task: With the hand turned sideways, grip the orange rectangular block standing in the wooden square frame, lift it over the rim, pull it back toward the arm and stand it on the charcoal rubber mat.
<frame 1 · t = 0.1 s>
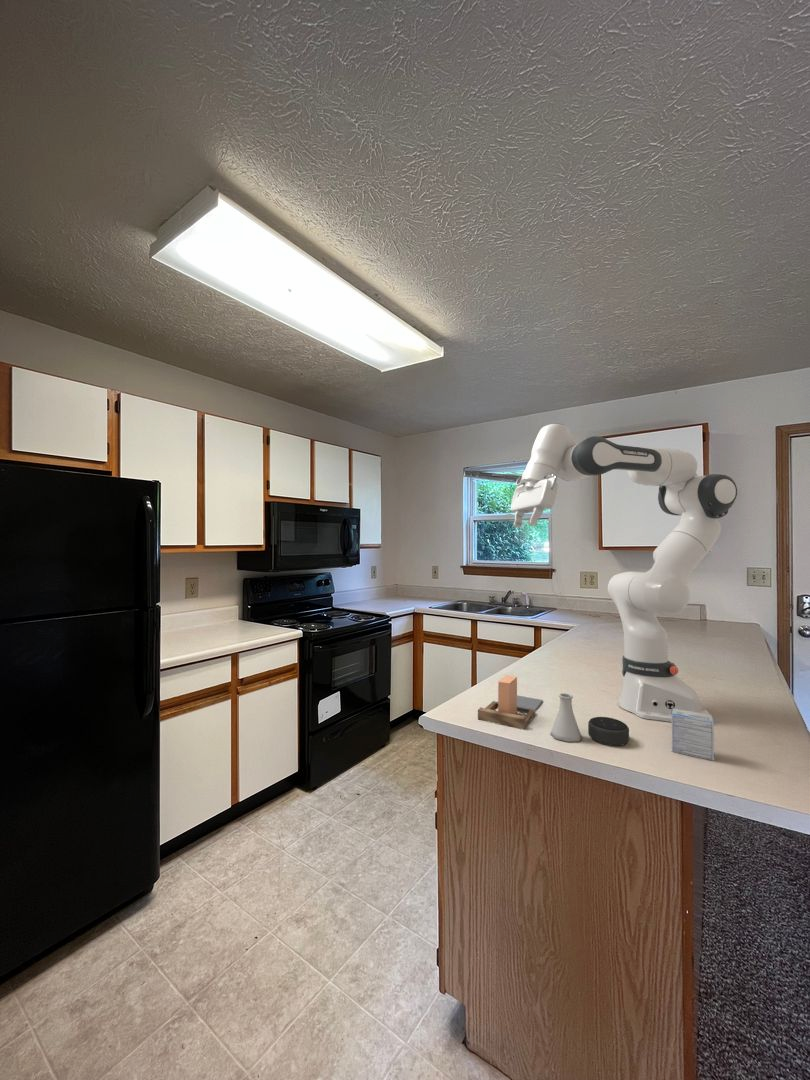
hand: (524, 525, 120), 52 cm above the worktop, tool tilted 20°, fingers open, 8 cm apart
mat: (520, 702, 129), on the worktop
wooden square frame: (507, 715, 118), on the worktop
orange rectangular block: (507, 716, 118), resting in wooden square frame
flask: (565, 737, 106), on the worktop
medicine box: (692, 754, 98), on the worktop
smart speaker: (608, 740, 105), on the worktop
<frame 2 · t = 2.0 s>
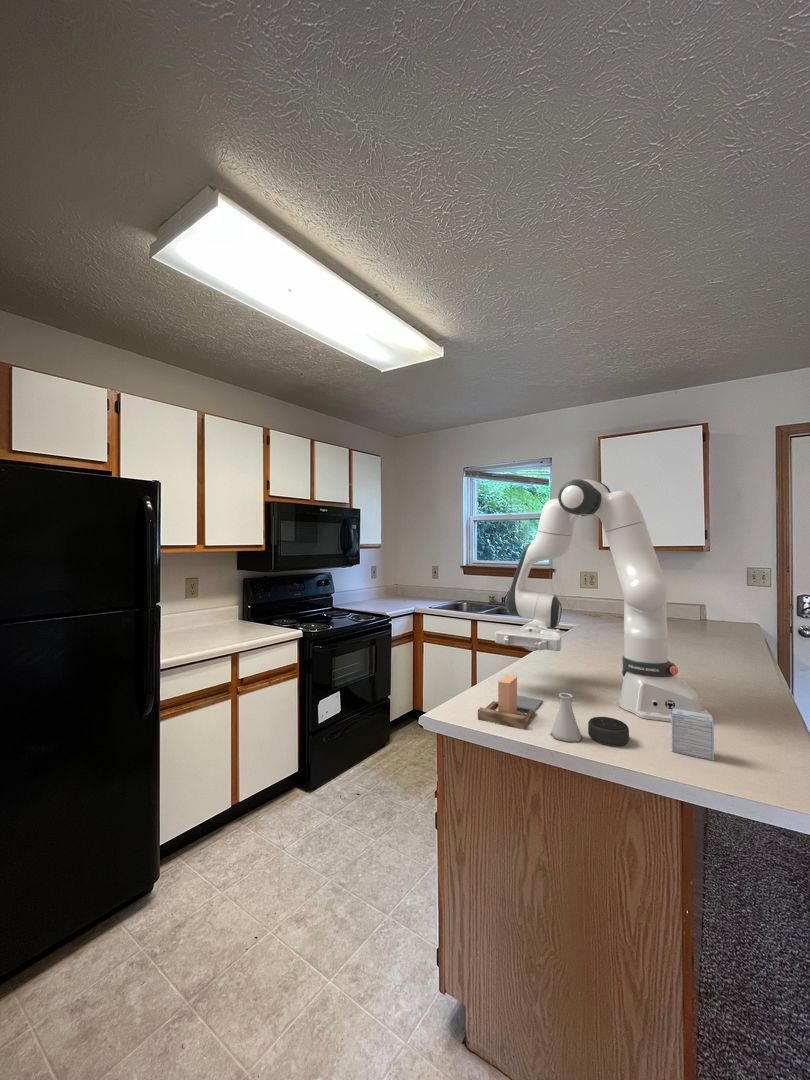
hand: (521, 644, 130), 17 cm above the worktop, tool horizontal, fingers open, 8 cm apart
nothing on the worktop moved.
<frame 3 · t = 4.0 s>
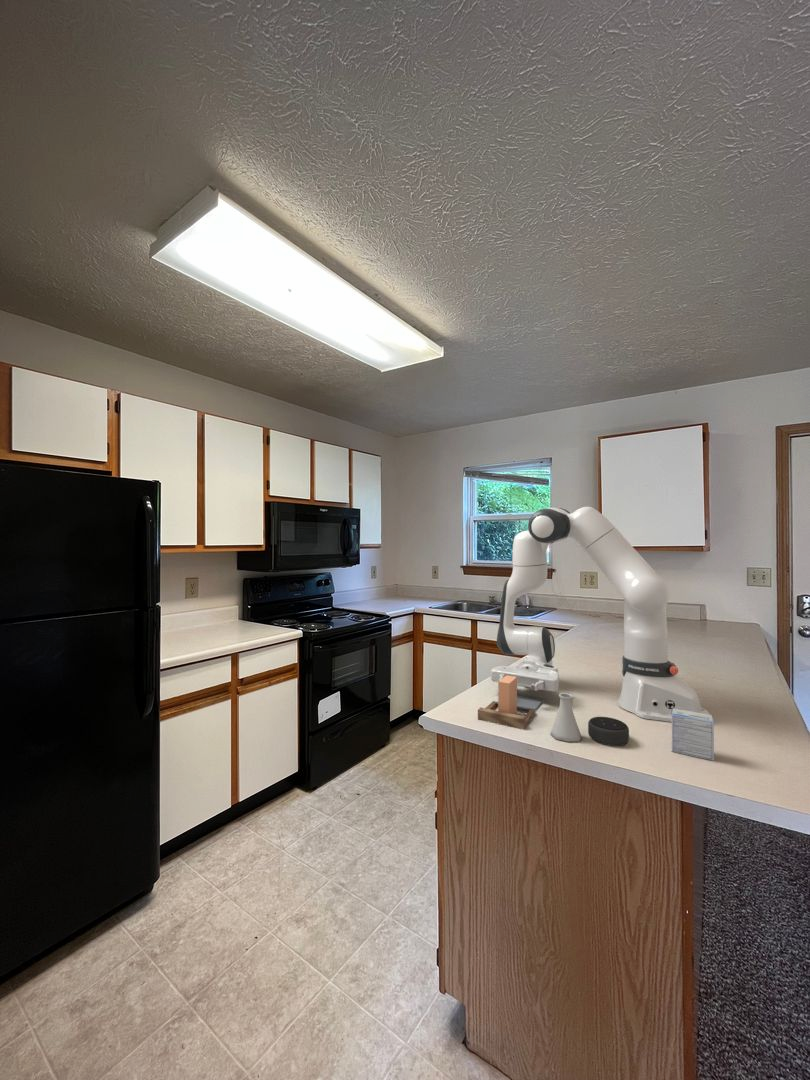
hand: (517, 684, 126), 6 cm above the worktop, tool horizontal, fingers open, 8 cm apart
nothing on the worktop moved.
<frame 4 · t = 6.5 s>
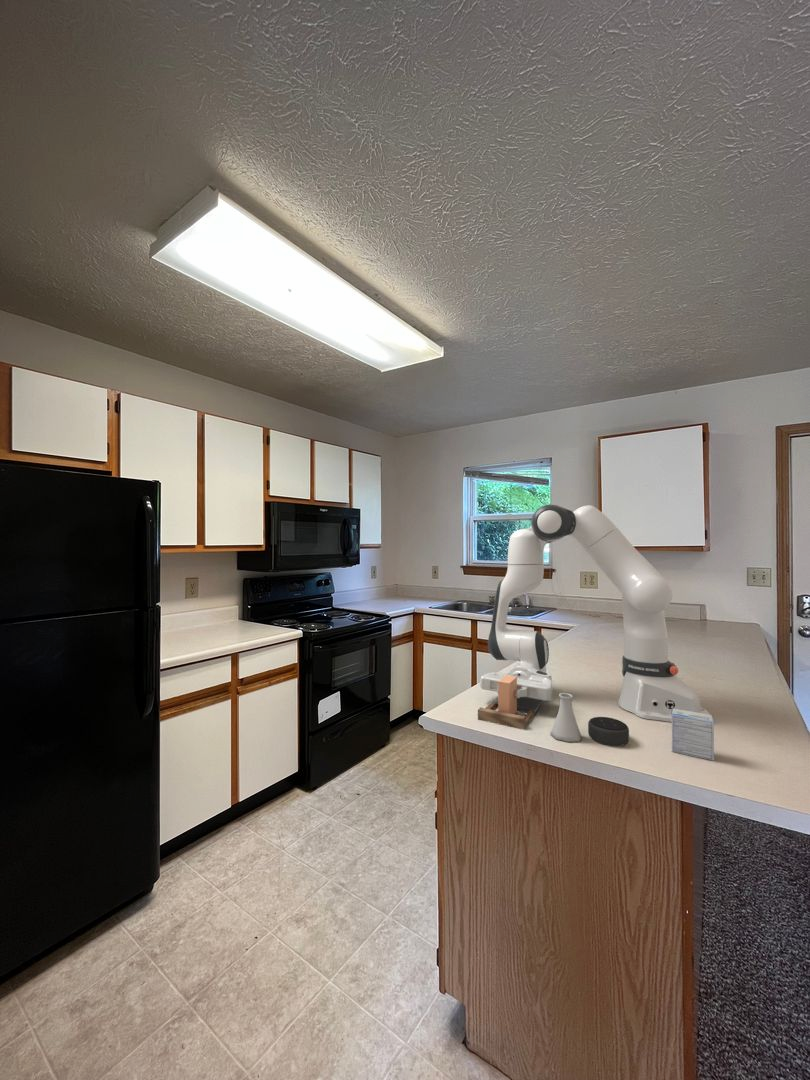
hand: (507, 693, 118), 6 cm above the worktop, tool horizontal, fingers closed on orange rectangular block, 3 cm apart
orange rectangular block: (507, 716, 118), resting in wooden square frame, touching gripper
everything else where it was.
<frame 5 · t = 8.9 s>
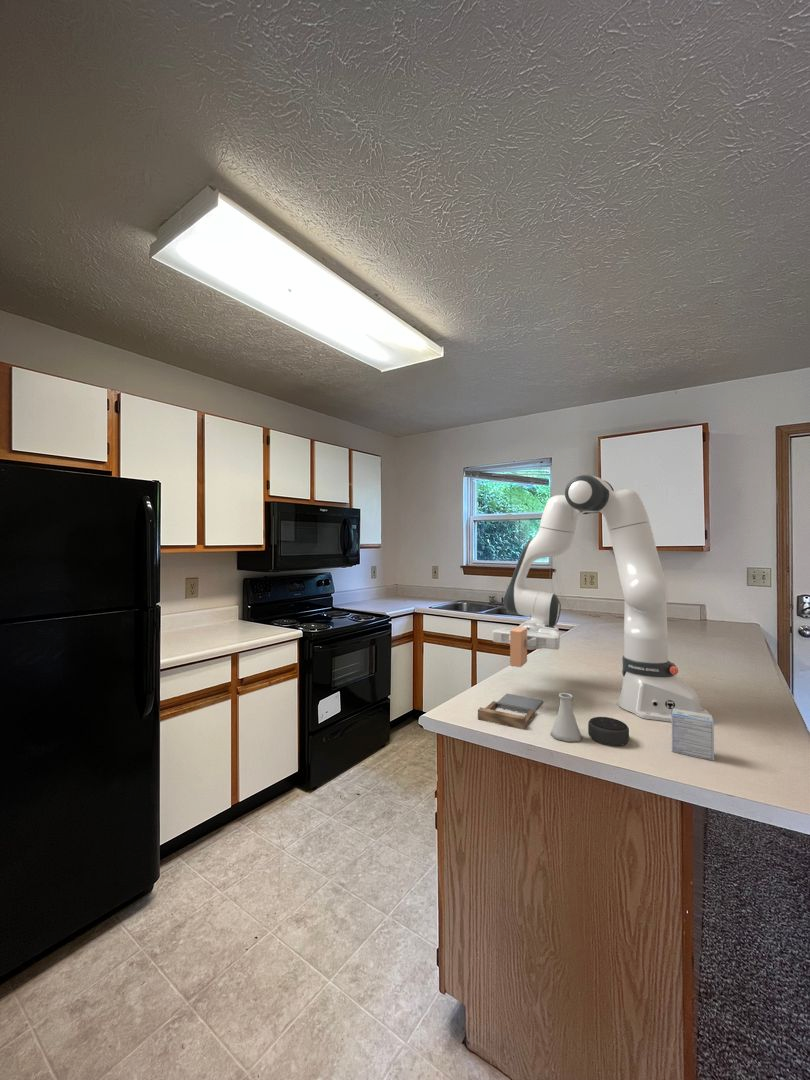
hand: (519, 642, 127), 18 cm above the worktop, tool horizontal, fingers closed on orange rectangular block, 3 cm apart
orange rectangular block: (518, 663, 127), point 12 cm above the worktop, touching gripper
everything else where it was.
when the fingers open (8 cm above the worktop, at t = 11.3 s): orange rectangular block drops 1 cm, resting on mat.
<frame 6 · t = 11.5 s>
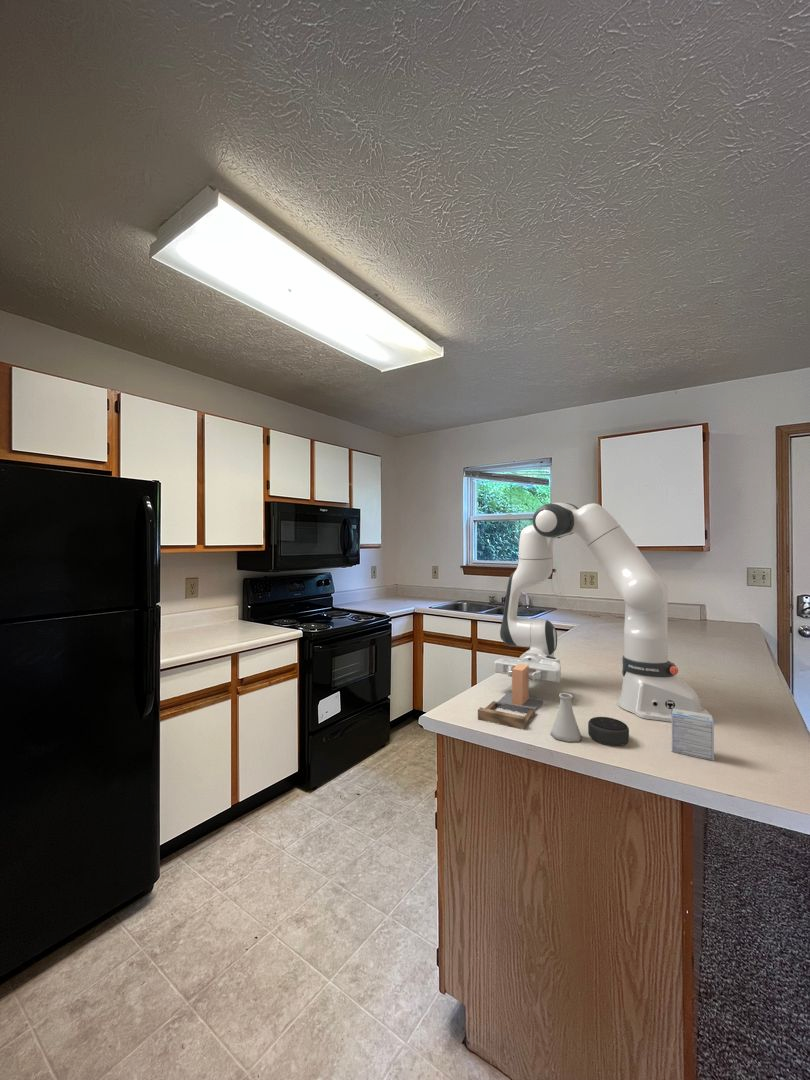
hand: (520, 675, 129), 8 cm above the worktop, tool horizontal, fingers open, 5 cm apart
orange rectangular block: (520, 701, 129), resting on mat
everything else where it was.
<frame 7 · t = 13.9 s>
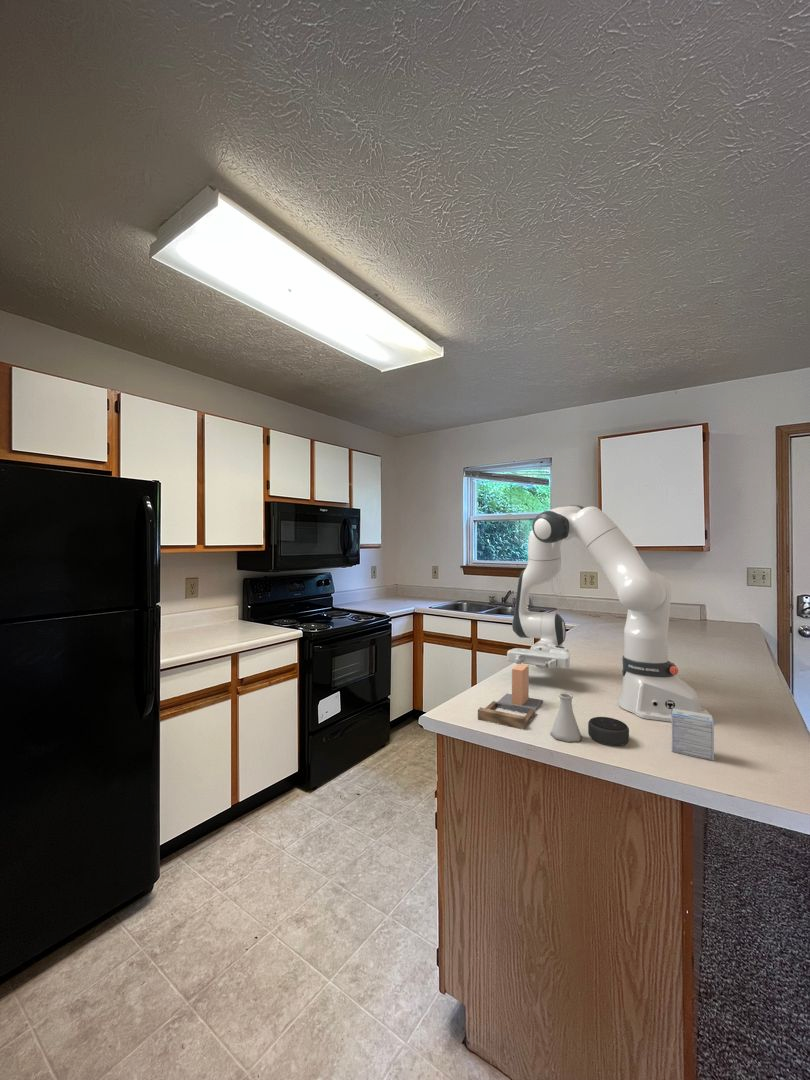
hand: (532, 663, 140), 9 cm above the worktop, tool horizontal, fingers open, 8 cm apart
nothing on the worktop moved.
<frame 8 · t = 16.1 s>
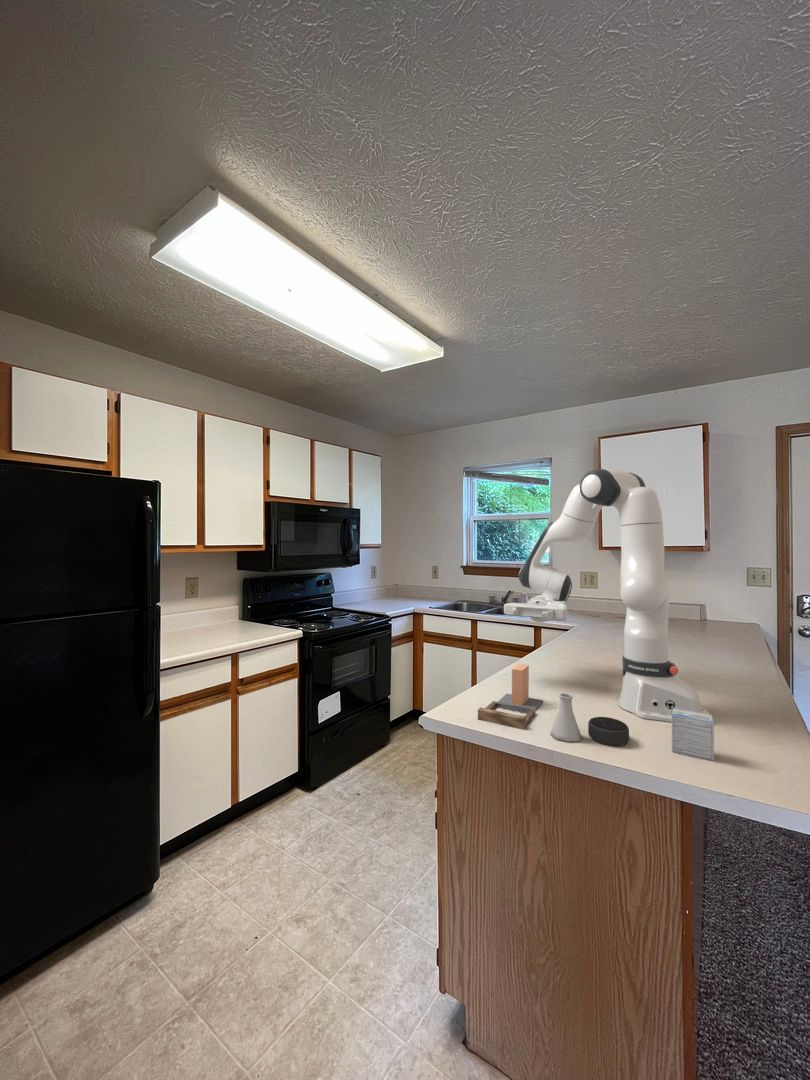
hand: (529, 613, 138), 25 cm above the worktop, tool horizontal, fingers open, 8 cm apart
nothing on the worktop moved.
at the end: orange rectangular block inside the target area on the mat (0.1 cm from its centre), point 0.5 cm above the mat's base; orange rectangular block tilted 0°; the gripper is holding nothing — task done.
